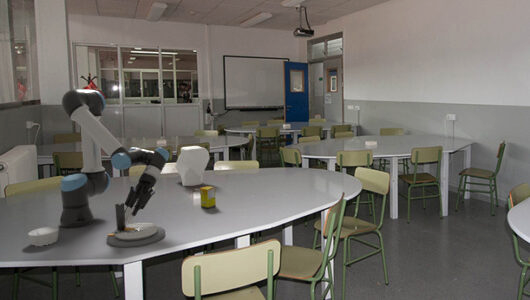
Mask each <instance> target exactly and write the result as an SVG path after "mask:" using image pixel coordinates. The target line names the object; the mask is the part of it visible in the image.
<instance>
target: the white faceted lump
mask: <svg viewBox="0 0 530 300" xmlns="http://www.w3.org/2000/svg"><path fill="white" fill-rule="evenodd" d="M210 159H211V158H210V154H209V151H208V149H207V148H205V147H201V146H199V145H190V146H183V147H181V148H180V154H179V155H178V158H177V160H176V162H175V166H174V167H175V169H176V171H177V173H178V174H179V176H180V177H181V179H180V180H181V183H182V186H183V187H190V186H199V185H202V183H203V176H204V174H205V169H206V167H207V166H208V163H209V161H210Z"/></svg>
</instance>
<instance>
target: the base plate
mask: <svg viewBox="0 0 530 300" xmlns="http://www.w3.org/2000/svg"><path fill="white" fill-rule="evenodd" d="M165 236H166V230H165V229H164V228H162V227H160V226H158V233H157V234H156V235H155V236H153V237H150V238H147V239H144V240H138V241H120V240H117V239H115V237H114V231H113V232H111V233H107V238H106V242H107V244H108V245H110V246H112V247H115V248H124V249H125V248H137V247H143V246H144V247H145V246H148V245H151V244H155V243H157V242H159V241H160V240H162V239H164V238H165Z"/></svg>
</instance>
